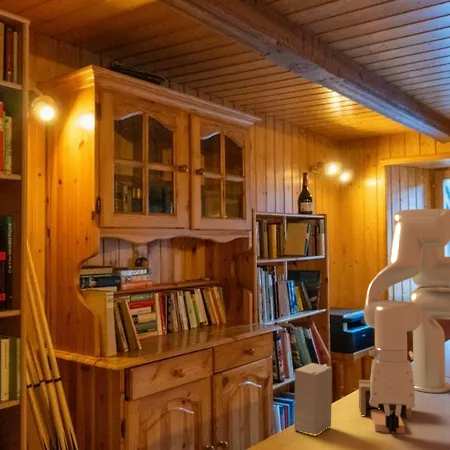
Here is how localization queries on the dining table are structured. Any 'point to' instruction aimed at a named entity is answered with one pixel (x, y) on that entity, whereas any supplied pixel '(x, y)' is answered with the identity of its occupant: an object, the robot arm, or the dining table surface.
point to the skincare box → (313, 398)
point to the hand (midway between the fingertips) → (392, 430)
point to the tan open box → (365, 398)
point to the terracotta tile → (379, 421)
